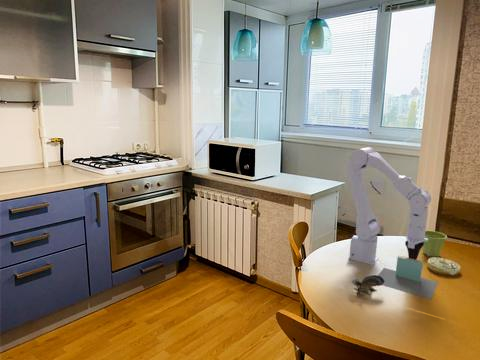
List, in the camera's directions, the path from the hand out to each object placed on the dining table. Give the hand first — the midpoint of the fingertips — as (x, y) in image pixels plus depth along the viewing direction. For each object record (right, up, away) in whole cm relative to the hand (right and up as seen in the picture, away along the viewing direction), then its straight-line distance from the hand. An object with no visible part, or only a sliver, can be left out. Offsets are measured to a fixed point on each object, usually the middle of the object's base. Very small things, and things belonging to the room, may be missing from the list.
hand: (412, 260), depth 130 cm
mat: (-5, -6, -6) cm, 10 cm away
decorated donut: (+13, -5, +4) cm, 14 cm away
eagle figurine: (-21, -8, -13) cm, 26 cm away
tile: (-3, -5, -3) cm, 7 cm away
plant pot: (+16, -2, +18) cm, 25 cm away
